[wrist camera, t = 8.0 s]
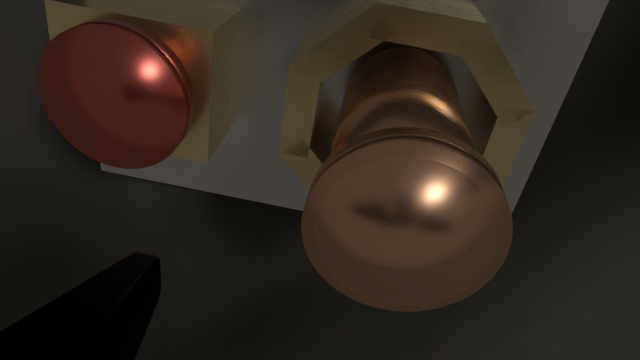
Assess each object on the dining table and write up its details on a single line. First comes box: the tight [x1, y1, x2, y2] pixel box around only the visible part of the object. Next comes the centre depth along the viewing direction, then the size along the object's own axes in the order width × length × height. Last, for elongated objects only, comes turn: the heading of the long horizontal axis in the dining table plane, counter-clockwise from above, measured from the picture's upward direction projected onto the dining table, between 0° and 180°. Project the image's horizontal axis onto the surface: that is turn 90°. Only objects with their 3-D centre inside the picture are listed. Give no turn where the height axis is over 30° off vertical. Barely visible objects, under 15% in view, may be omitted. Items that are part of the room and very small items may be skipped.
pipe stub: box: [301, 47, 513, 312], centre depth 14 cm, size 5×5×8 cm
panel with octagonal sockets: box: [37, 0, 609, 215], centre depth 16 cm, size 17×11×5 cm, turn 81°
